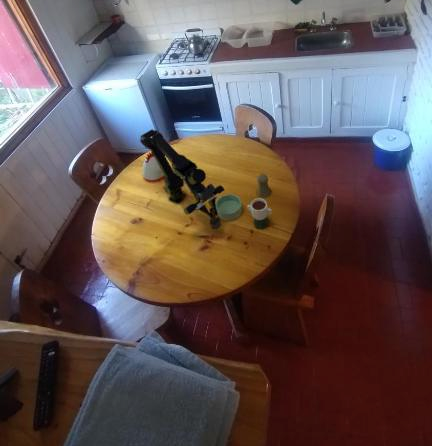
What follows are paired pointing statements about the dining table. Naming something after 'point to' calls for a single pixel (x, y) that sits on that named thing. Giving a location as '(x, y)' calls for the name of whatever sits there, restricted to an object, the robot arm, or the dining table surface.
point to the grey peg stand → (214, 220)
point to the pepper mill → (263, 185)
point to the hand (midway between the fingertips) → (215, 217)
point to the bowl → (229, 207)
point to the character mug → (259, 212)
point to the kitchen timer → (152, 169)
